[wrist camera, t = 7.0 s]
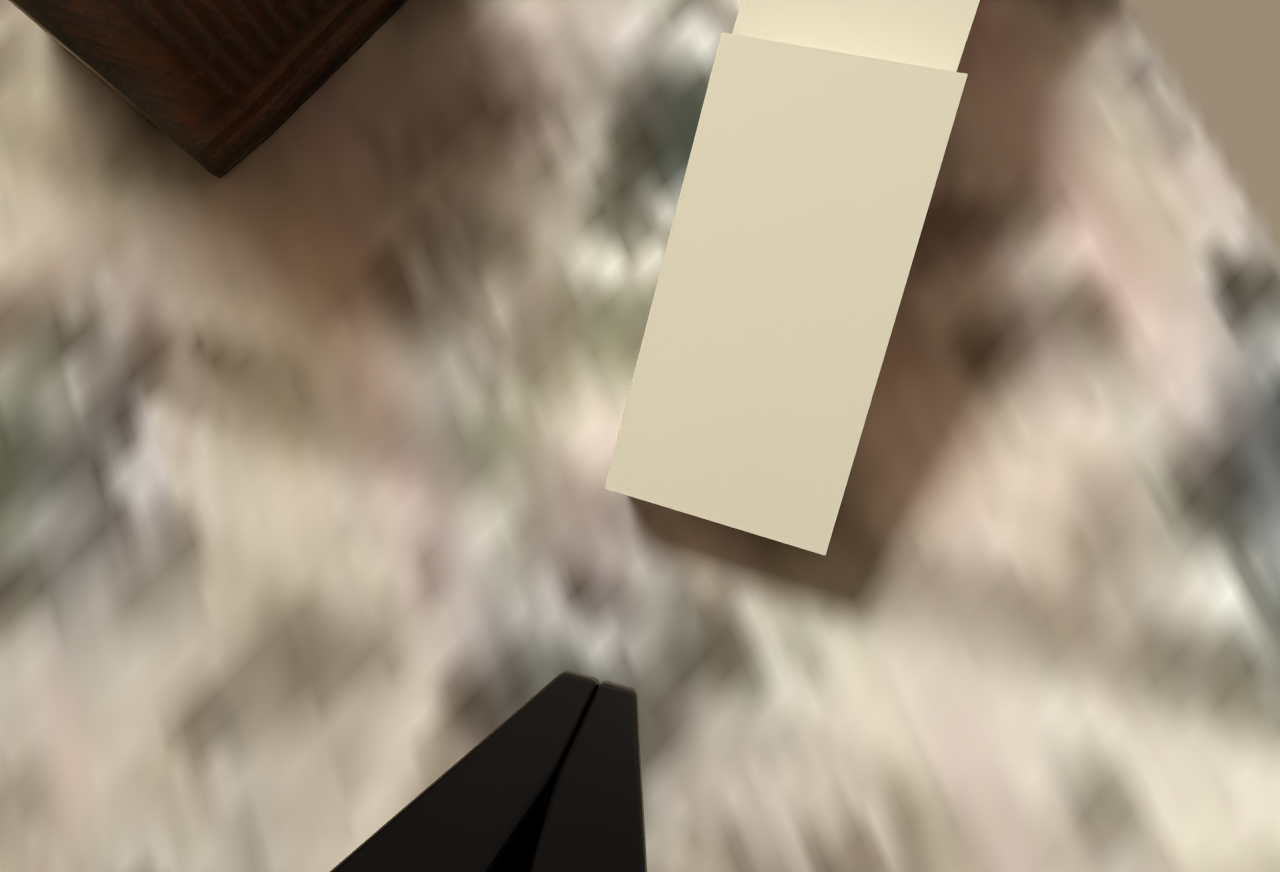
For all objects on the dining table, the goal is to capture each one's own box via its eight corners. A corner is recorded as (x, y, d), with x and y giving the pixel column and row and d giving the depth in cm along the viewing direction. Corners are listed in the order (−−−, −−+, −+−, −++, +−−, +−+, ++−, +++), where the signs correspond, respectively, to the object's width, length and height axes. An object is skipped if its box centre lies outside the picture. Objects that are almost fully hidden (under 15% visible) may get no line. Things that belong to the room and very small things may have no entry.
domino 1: (869, 333, 17) (1023, -132, 16) (662, 275, 18) (790, -166, 17) (866, 337, 19) (1004, -86, 17) (674, 284, 20) (792, -120, 18)
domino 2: (825, 555, 16) (967, 74, 15) (604, 488, 17) (721, 32, 16) (824, 540, 18) (953, 103, 16) (622, 480, 19) (730, 64, 17)
